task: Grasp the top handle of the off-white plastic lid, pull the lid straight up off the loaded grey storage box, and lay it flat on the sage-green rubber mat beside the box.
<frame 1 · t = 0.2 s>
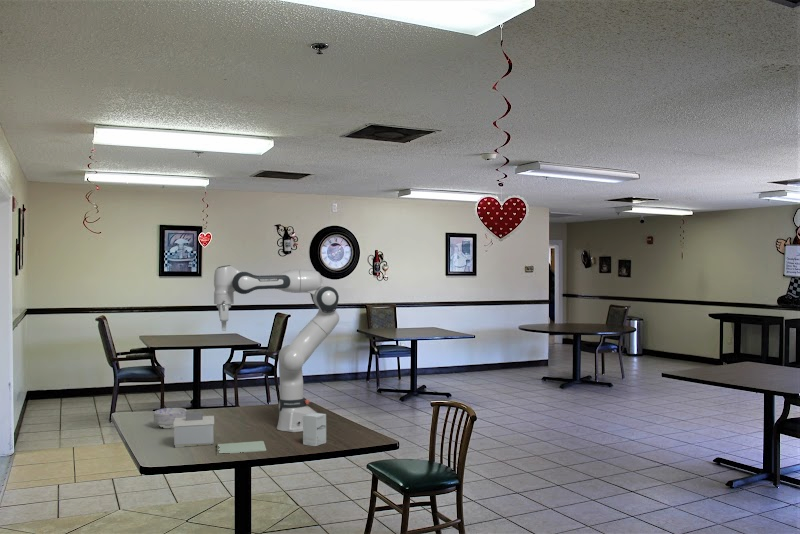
hand: (223, 330, 320), 47 cm above the table, fingers open, 8 cm apart
mat: (240, 448, 291), on the table
paper bowls: (170, 427, 334), on the table
storage box: (194, 443, 300), on the table
supplement box: (314, 444, 297), on the table
lid: (194, 422, 300), point 9 cm above the table, touching storage box
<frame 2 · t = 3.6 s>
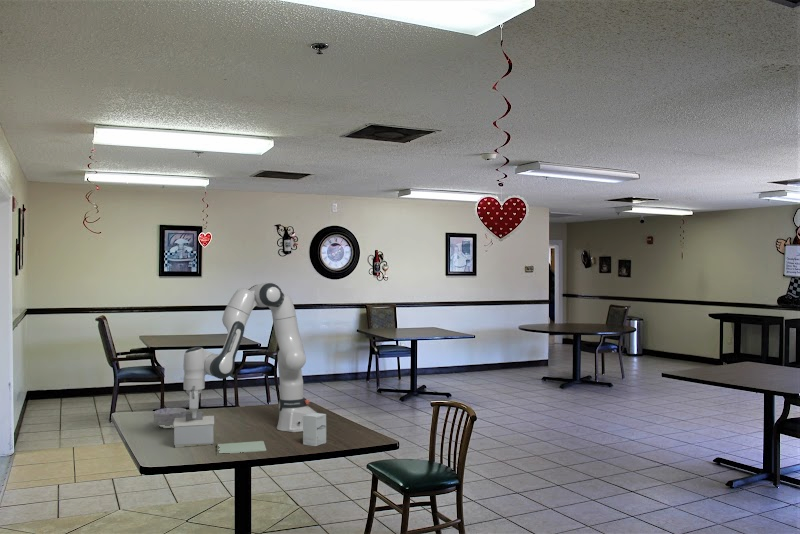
hand: (194, 416, 300), 11 cm above the table, fingers closed on lid, 3 cm apart
lid: (194, 422, 300), point 9 cm above the table, touching gripper, storage box
everything else where it was.
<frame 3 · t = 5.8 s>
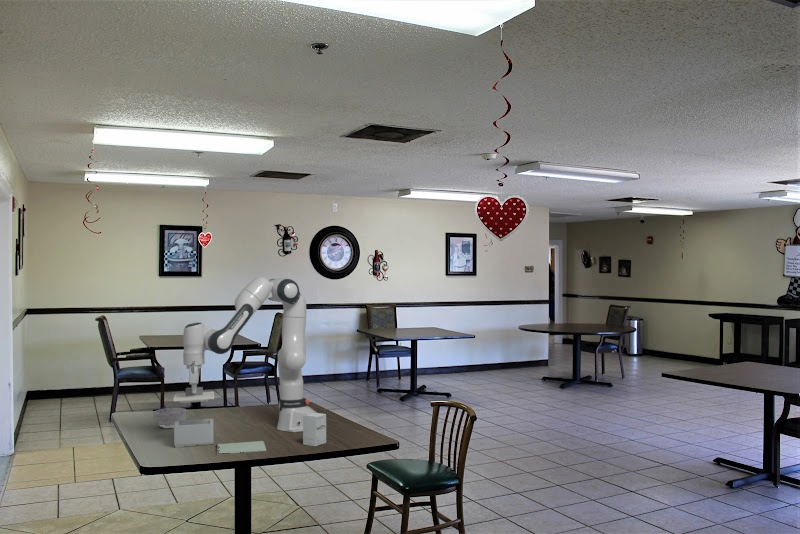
hand: (194, 392, 300), 22 cm above the table, fingers closed on lid, 3 cm apart
lid: (194, 397, 300), point 20 cm above the table, touching gripper
everything else where it was.
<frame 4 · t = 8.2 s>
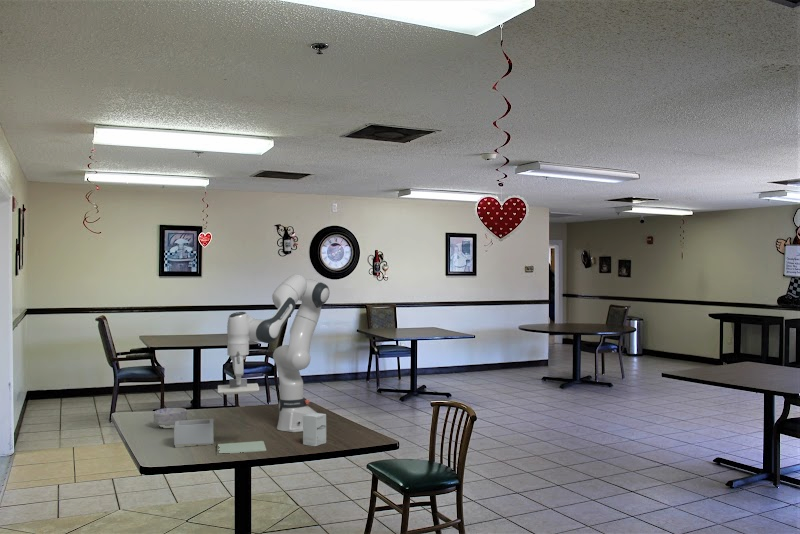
hand: (238, 383, 291), 27 cm above the table, fingers closed on lid, 3 cm apart
lid: (238, 389, 291), point 25 cm above the table, touching gripper
everything else where it was.
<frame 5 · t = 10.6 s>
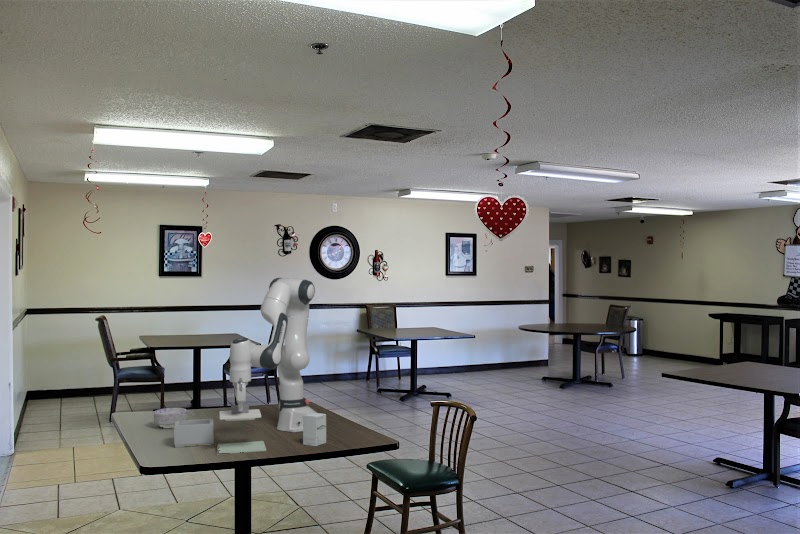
hand: (240, 410, 291), 16 cm above the table, fingers closed on lid, 3 cm apart
lid: (240, 415, 291), point 14 cm above the table, touching gripper
everything else where it was.
when the fingers open (6 cm above the table, at t = 12.8 s): lid drops 1 cm, resting on mat.
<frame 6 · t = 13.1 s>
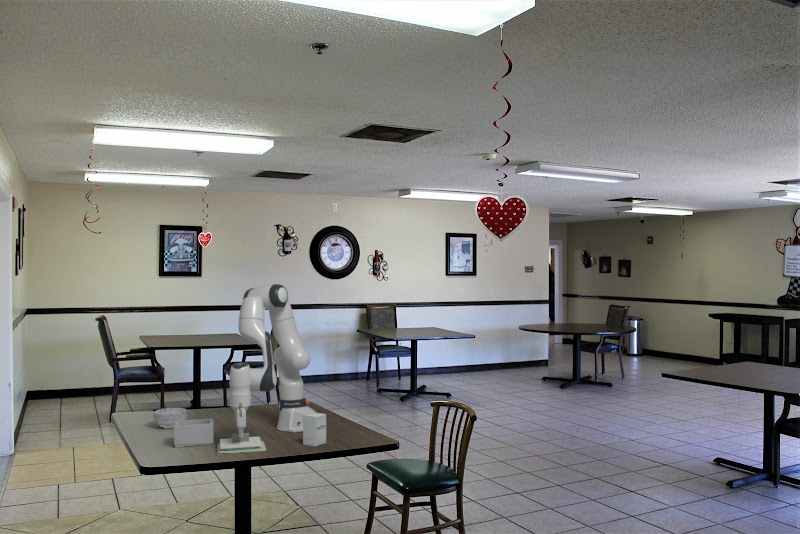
hand: (240, 434, 291), 6 cm above the table, fingers open, 6 cm apart
lid: (240, 443, 291), point 2 cm above the table, touching mat
everything else where it was.
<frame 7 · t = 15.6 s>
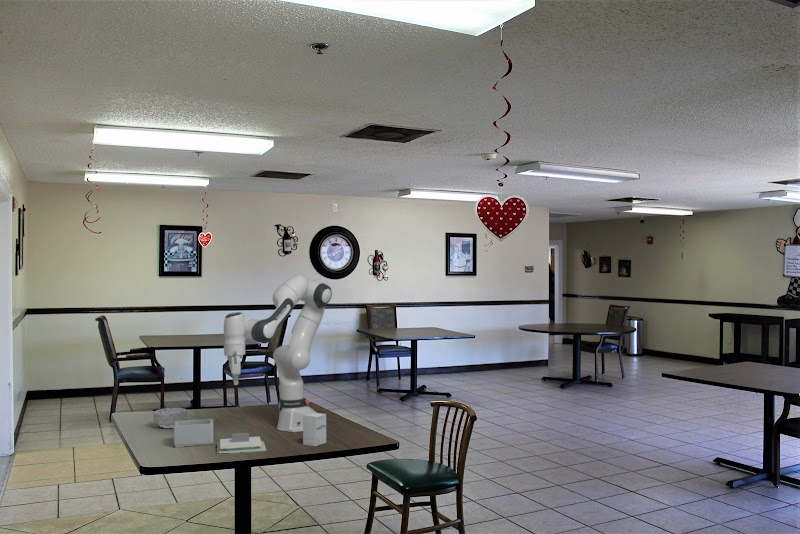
hand: (235, 383, 296), 27 cm above the table, fingers open, 8 cm apart
nothing on the table moved.
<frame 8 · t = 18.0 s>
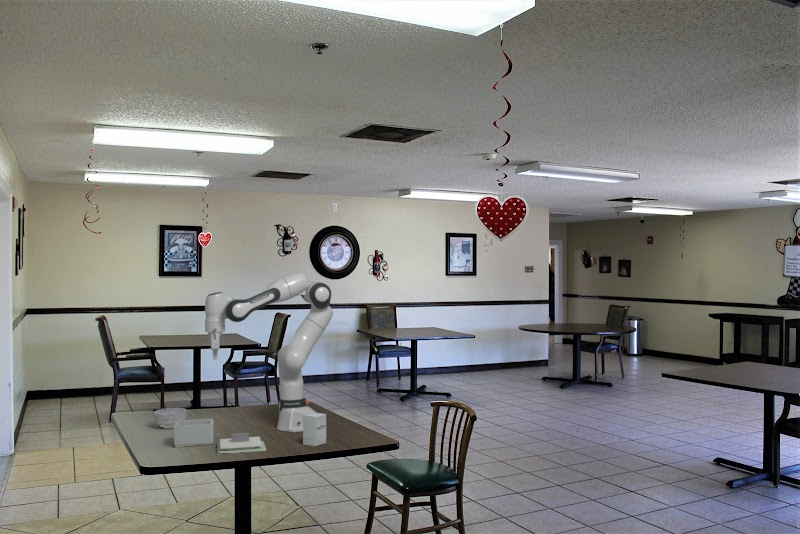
hand: (215, 358, 314), 35 cm above the table, fingers open, 8 cm apart
nothing on the table moved.
at the end: lid inside the target area on the mat (0.1 cm from its centre), point 1.7 cm above the mat's base; lid tilted 0°; the gripper is holding nothing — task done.
